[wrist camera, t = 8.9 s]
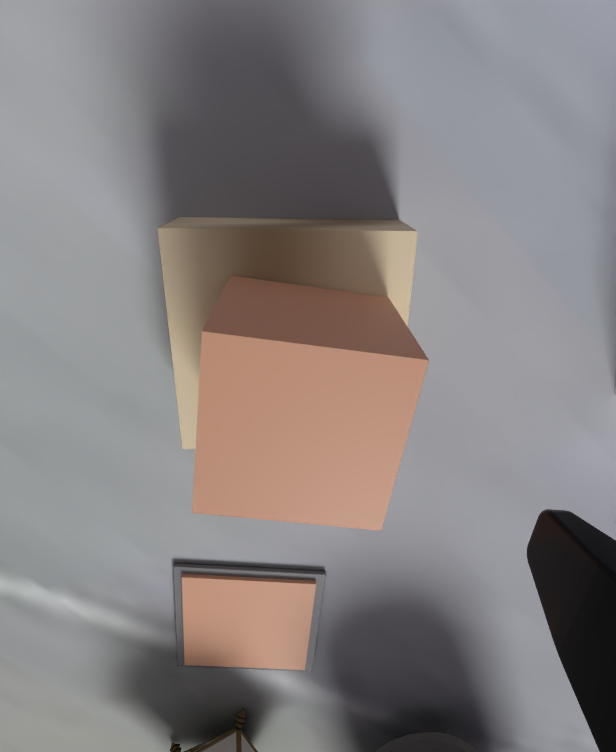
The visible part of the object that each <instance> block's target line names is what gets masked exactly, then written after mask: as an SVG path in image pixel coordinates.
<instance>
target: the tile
mask: <svg viewBox="0 0 616 752" xmlns="http://www.w3.org/2000/svg"><path fill="white" fill-rule="evenodd" d="M173 571H174V593H175V616H176V639H177V661H178V666H193V667H216V668H239V669H263V670H286V671H309V672H312V668H313V661H314V654H315V647H316V640H317V633H318V626H319V619H320V611H321V604H322V597H323V590H324V583H325V576H326V572H325V571H311V570H292V569H273V568H255V567H236V566H217V565H198V564H180V563H174V566H173Z"/></svg>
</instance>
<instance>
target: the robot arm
mask: <svg viewBox="0 0 616 752" xmlns="http://www.w3.org/2000/svg"><path fill="white" fill-rule="evenodd" d="M527 559H528V563H529V566H530V569H531V572H532V576H533V579H534V582H535V585H536V588H537V591H538V594H539V597H540V601H541V604H542V607H543V610H544V613H545V616H546V619H547V622H548V626H549V629H550V632H551V635H552V638H553V641H554V644H555V646H556V649H557V652H558V655H559V657H560V660H561V662H562V665H563V667H564V669H565V672H566V674H567V677H568V679H569V681H570V683H571V686H572V688H573V690H574V693H575V695H576V697H577V700H578V702H579V704H580V707H581V709H582V711H583V714H584V716H585V718H586V721H587V723H588V725H589V728H590V730H591V732H592V735H593V737H594V739H595V742H596V744H597V746H598V749H599V751H600V752H616V541H615V540H614V539H612V538H611V537H609V536H608V535H606V534H605V533H603V532H601V531H600V530H598V529H597V528H595V527H594V526H592V525H590V524H589V523H587V522H586V521H584V520H583V519H581V518H580V517H578V516H576V515H575V514H573V513H572V512H569V511H565V510H549V509H548V510H544V511H542V512H541V513H540V515H539V517H538V519H537V522H536V525H535V527H534V530H533V533H532V535H531V538H530V541H529V543H528V547H527Z"/></svg>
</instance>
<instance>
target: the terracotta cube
mask: <svg viewBox="0 0 616 752" xmlns="http://www.w3.org/2000/svg"><path fill="white" fill-rule="evenodd" d="M428 361H429V360H428V358H427V357H426V355H425V353H424V352H423V350H422V349H421V347H420V346H419V344H418V342H417V341H416V339H415V338H414V336H413V335H412V333H411V332H410V330H409V328H408V327H407V325H406V324H405V322H404V321H403V319H402V317H401V316H400V314H399V313H398V311H397V310H396V308H395V307H394V305H393V303H392V302H391V300H390V299H389V297H383V296H376V295H369V294H361V293H354V292H347V291H340V290H332V289H325V288H318V287H311V286H303V285H296V284H289V283H282V282H274V281H267V280H260V279H253V278H245V277H238V276H230V278H229V279H228V281H227V283H226V285H225V287H224V289H223V291H222V293H221V295H220V297H219V299H218V301H217V303H216V305H215V307H214V309H213V311H212V313H211V315H210V317H209V319H208V320H207V322H206V324H205V326H204V328H203V330H202V339H201V357H200V376H199V395H198V413H197V432H196V450H195V469H194V487H193V506H192V513H200V514H211V515H221V516H232V517H243V518H253V519H264V520H274V521H285V522H295V523H306V524H317V525H327V526H338V527H348V528H359V529H370V530H380V531H382V527H383V523H384V520H385V516H386V513H387V509H388V505H389V502H390V498H391V495H392V491H393V487H394V484H395V480H396V477H397V473H398V469H399V466H400V462H401V459H402V455H403V451H404V448H405V444H406V441H407V437H408V433H409V430H410V426H411V423H412V419H413V415H414V412H415V408H416V405H417V401H418V397H419V394H420V390H421V387H422V383H423V379H424V376H425V372H426V369H427V365H428Z"/></svg>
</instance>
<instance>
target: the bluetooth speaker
mask: <svg viewBox="0 0 616 752" xmlns="http://www.w3.org/2000/svg"><path fill="white" fill-rule="evenodd" d="M375 752H480V751H479V750H478V749H477V748H475V747H474V746H472V745H471V744H469V743H468V742H466V741H464V740H462V739H460V738H458V737H455V736H452V735H449V734H446V733H439V732H422V733H414V734H409V735H405V736H402V737H399V738H396V739H394V740H391V741H389V742H387V743H386V744H384V745H383V746H382V747H381V748H379V749H378V750H377V751H375Z"/></svg>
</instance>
